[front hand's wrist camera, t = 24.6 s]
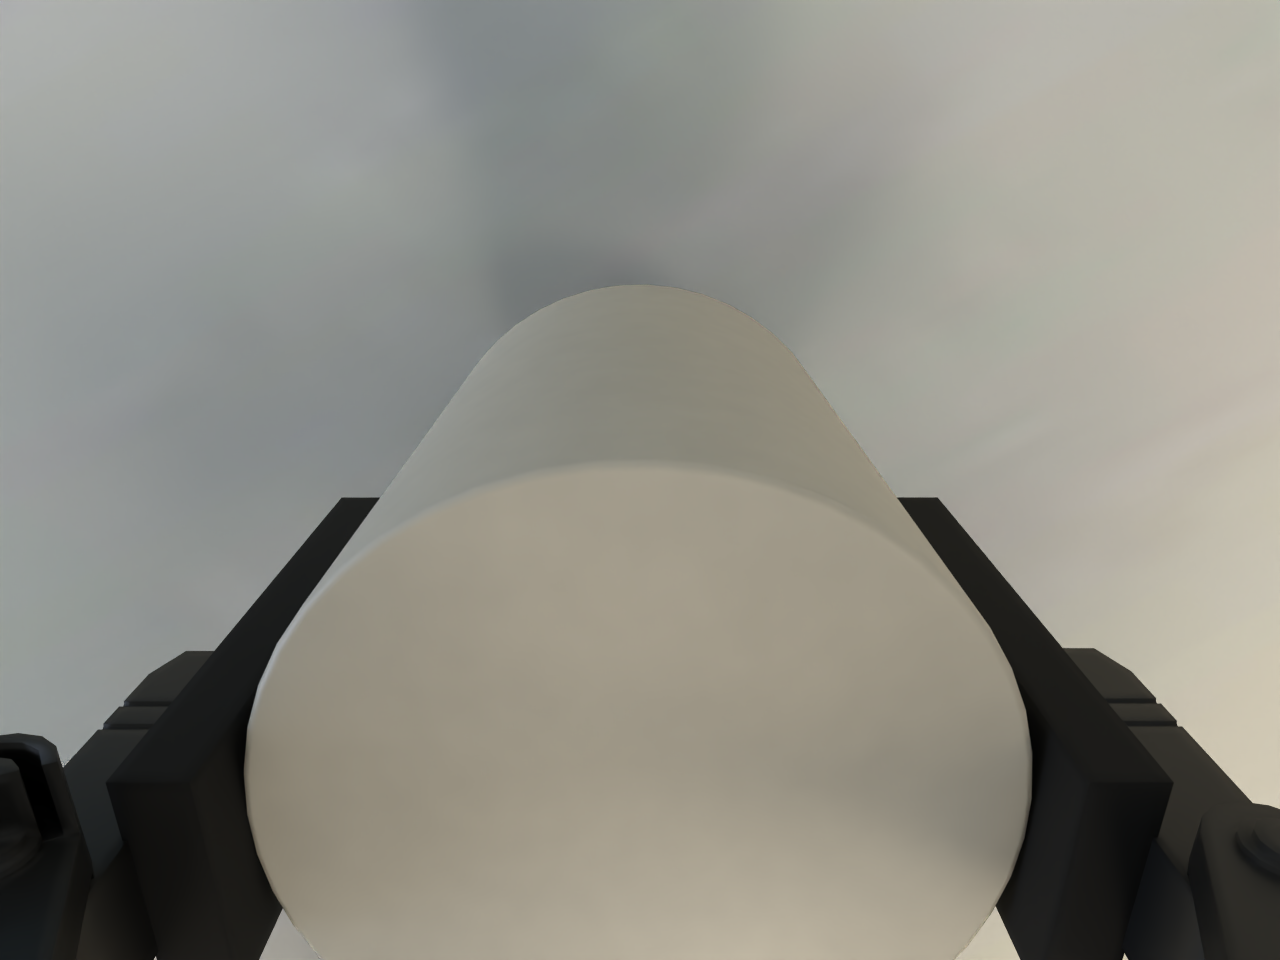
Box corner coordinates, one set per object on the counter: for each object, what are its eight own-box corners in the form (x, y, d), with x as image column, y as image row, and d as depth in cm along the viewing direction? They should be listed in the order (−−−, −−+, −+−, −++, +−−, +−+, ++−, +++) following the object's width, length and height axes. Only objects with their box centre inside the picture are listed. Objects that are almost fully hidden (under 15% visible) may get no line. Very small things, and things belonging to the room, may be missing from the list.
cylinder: (835, 632, 19) (1007, 1067, 10) (478, 660, 19) (338, 1109, 10) (832, 264, 16) (1074, 421, 7) (409, 303, 16) (132, 501, 7)
